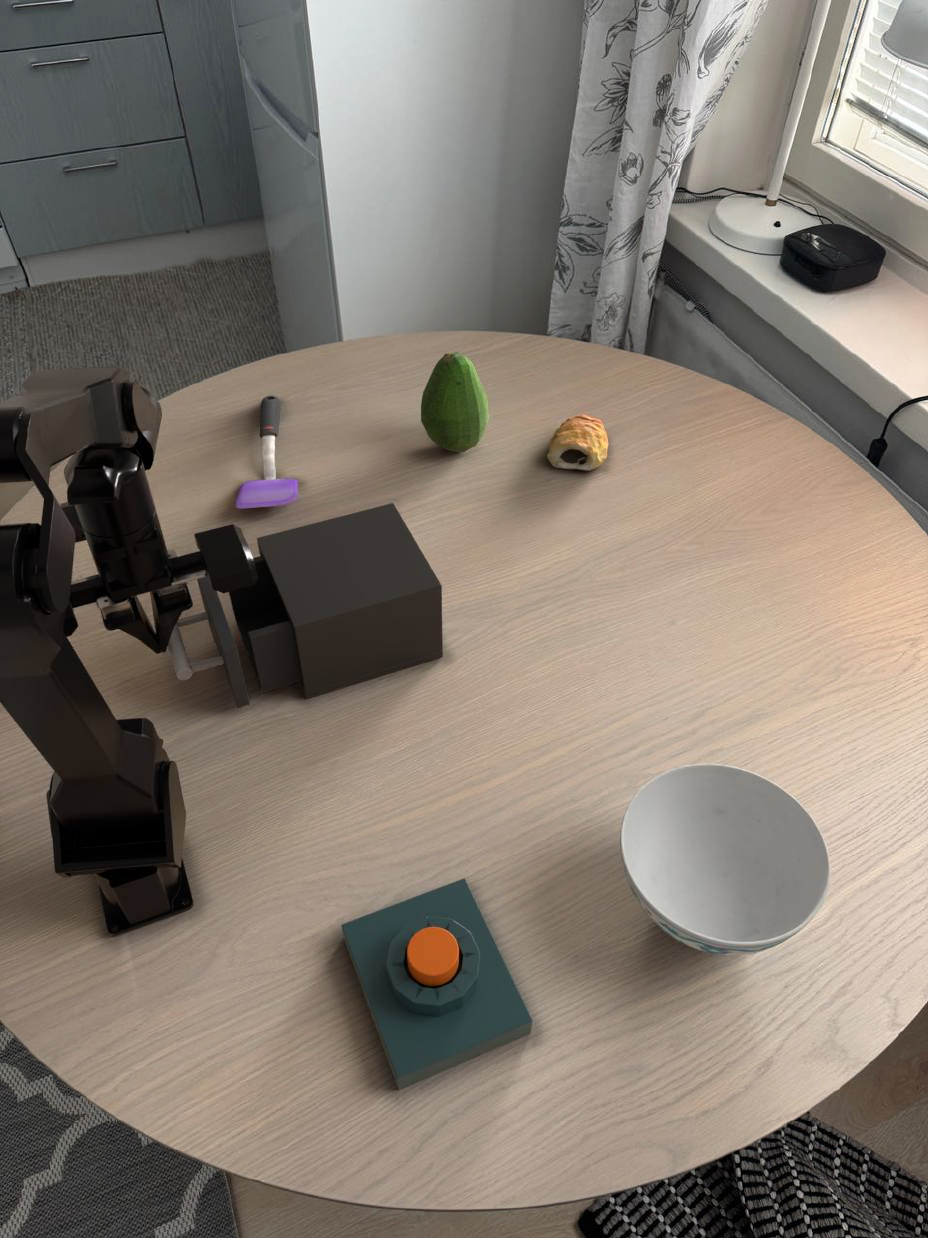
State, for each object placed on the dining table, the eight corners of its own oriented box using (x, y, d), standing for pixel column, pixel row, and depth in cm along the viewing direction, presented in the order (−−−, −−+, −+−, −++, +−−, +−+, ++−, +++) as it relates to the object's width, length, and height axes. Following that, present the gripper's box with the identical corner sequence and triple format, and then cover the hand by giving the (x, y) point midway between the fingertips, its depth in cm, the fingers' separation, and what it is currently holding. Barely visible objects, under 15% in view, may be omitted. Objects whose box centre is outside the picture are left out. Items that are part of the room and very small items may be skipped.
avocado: (467, 420, 123) (468, 332, 115) (499, 453, 119) (502, 364, 110) (410, 437, 121) (406, 349, 112) (439, 472, 116) (438, 383, 107)
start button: (466, 975, 70) (466, 963, 68) (418, 994, 69) (418, 983, 67) (447, 931, 72) (446, 919, 71) (400, 949, 71) (399, 937, 70)
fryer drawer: (190, 723, 89) (172, 664, 83) (165, 637, 96) (147, 578, 90) (368, 668, 93) (362, 609, 88) (331, 590, 101) (323, 532, 95)
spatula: (246, 403, 126) (243, 386, 124) (300, 400, 126) (298, 383, 125) (237, 525, 109) (233, 508, 107) (299, 521, 110) (296, 503, 108)
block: (531, 1033, 70) (534, 1009, 68) (398, 1091, 68) (396, 1068, 65) (464, 891, 78) (465, 865, 75) (343, 938, 75) (338, 912, 72)
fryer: (306, 699, 92) (294, 627, 85) (270, 610, 100) (256, 537, 93) (443, 657, 96) (442, 584, 89) (397, 574, 104) (393, 502, 97)
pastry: (560, 423, 123) (562, 397, 120) (614, 432, 122) (618, 405, 119) (544, 468, 117) (547, 441, 114) (601, 477, 115) (605, 450, 113)
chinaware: (654, 1018, 71) (670, 969, 66) (581, 842, 81) (590, 787, 76) (841, 965, 74) (872, 914, 68) (748, 801, 84) (769, 745, 79)
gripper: (212, 432, 86) (240, 566, 97) (-17, 484, 81) (41, 619, 92) (244, 507, 79) (271, 642, 90) (-4, 570, 73) (57, 705, 85)
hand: (160, 649), depth 89 cm, fingers closed
